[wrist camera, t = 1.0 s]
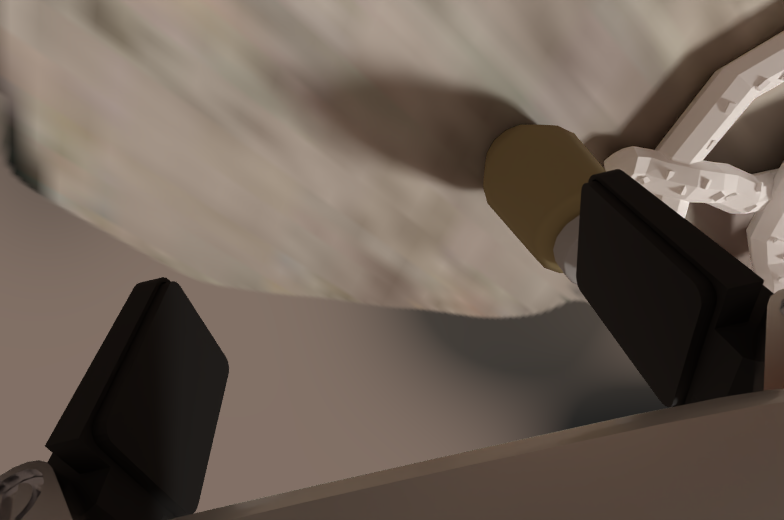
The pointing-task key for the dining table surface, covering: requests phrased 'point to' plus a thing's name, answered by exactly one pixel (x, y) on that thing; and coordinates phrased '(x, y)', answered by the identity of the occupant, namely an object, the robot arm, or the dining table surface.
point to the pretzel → (720, 180)
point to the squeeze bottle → (540, 190)
